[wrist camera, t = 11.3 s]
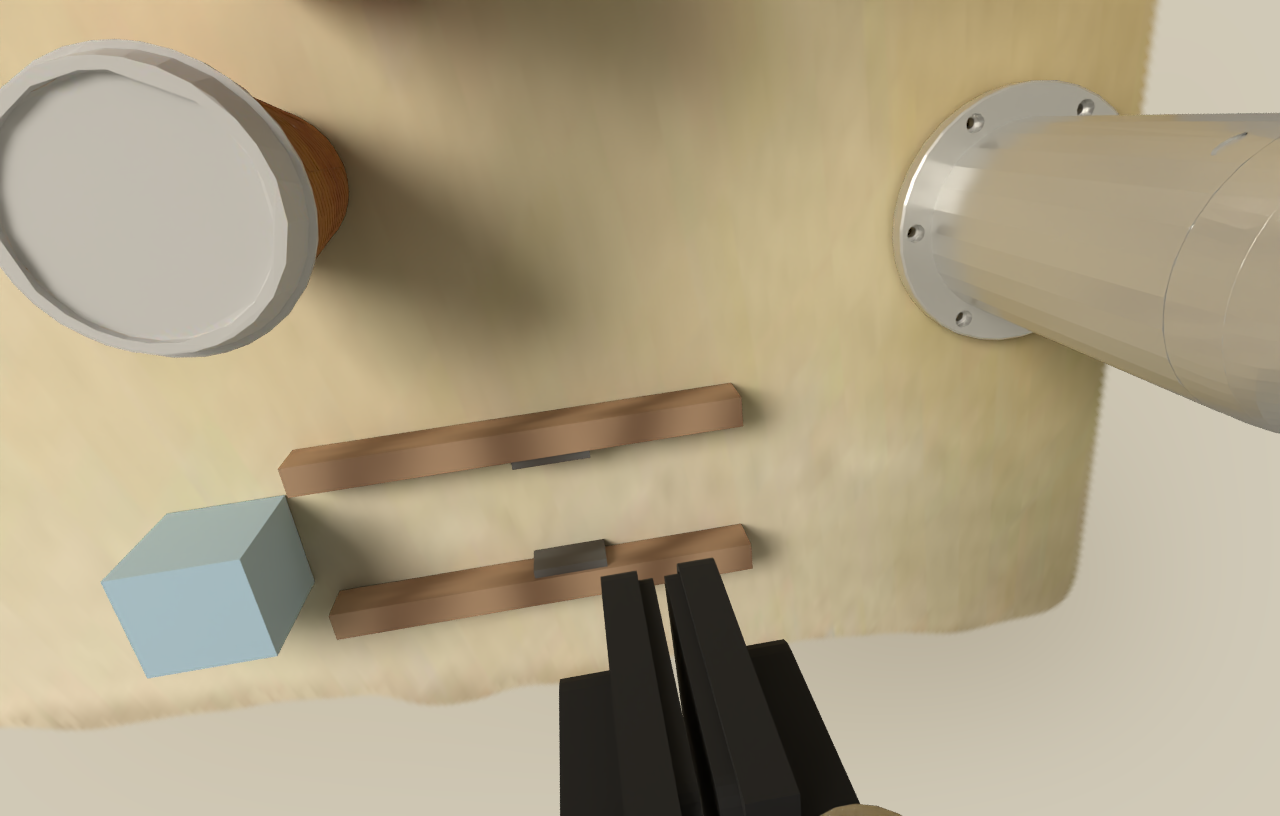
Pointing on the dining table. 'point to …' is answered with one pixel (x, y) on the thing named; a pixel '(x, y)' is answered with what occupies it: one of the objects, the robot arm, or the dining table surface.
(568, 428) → the chute
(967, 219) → the robot arm
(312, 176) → the disposable coffee cup
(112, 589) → the block
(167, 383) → the dining table surface
